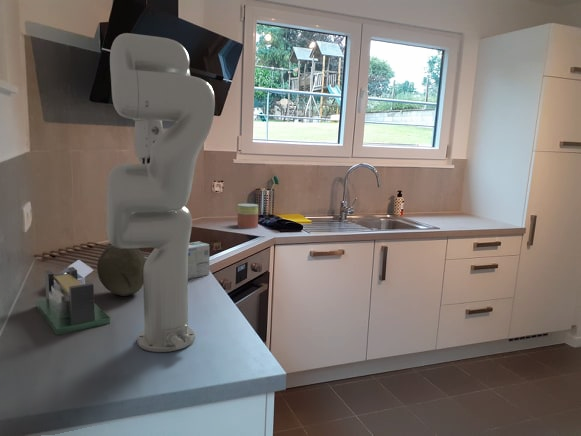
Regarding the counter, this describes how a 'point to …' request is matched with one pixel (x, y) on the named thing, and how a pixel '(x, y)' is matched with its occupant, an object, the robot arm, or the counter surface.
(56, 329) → the cooling block
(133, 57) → the robot arm
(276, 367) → the counter surface
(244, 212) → the canned food
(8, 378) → the counter surface
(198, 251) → the light bulb box
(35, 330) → the counter surface
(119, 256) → the cantaloupe
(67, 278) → the retention strap
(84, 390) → the counter surface
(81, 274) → the wedge on round base
